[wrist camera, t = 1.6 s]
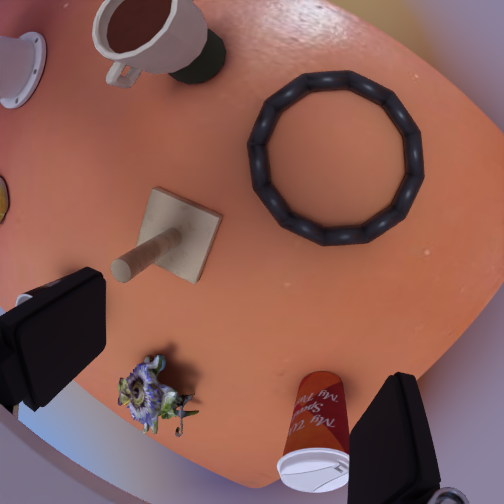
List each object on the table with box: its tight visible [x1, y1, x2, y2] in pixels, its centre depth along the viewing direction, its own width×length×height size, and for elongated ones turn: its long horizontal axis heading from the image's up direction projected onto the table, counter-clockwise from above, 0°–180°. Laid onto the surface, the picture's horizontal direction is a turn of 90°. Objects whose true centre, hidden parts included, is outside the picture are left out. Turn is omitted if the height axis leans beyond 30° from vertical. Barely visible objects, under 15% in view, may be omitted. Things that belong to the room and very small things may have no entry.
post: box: [111, 187, 223, 284], centre depth 28 cm, size 8×8×11 cm
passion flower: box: [118, 355, 199, 437], centre depth 37 cm, size 11×11×12 cm
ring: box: [247, 70, 425, 246], centre depth 27 cm, size 17×17×2 cm
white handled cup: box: [92, 0, 226, 88], centre depth 21 cm, size 11×7×13 cm, turn 144°
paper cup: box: [277, 372, 349, 493], centre depth 29 cm, size 8×8×14 cm
